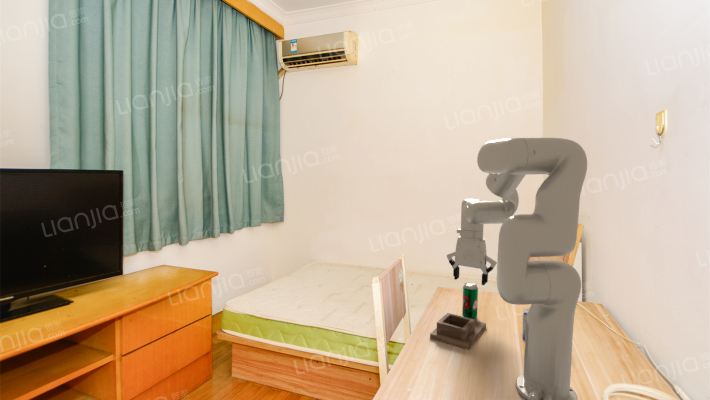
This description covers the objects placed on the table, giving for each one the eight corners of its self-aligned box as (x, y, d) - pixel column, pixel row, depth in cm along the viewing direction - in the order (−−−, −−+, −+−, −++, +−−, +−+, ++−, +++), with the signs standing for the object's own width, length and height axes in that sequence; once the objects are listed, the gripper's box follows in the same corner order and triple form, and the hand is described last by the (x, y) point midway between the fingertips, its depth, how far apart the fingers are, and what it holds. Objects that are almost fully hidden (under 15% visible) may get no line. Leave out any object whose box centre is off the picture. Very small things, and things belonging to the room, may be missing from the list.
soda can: (476, 321, 120) (477, 287, 119) (461, 318, 122) (462, 285, 121) (478, 315, 124) (479, 283, 123) (463, 313, 126) (464, 281, 125)
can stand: (468, 349, 100) (468, 333, 100) (430, 338, 107) (430, 322, 107) (485, 327, 115) (486, 312, 114) (451, 318, 122) (451, 304, 121)
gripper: (444, 232, 123) (442, 279, 124) (494, 239, 113) (492, 289, 114) (451, 229, 129) (450, 273, 131) (500, 235, 119) (498, 283, 120)
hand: (469, 281), depth 122 cm, fingers open, 9 cm apart
